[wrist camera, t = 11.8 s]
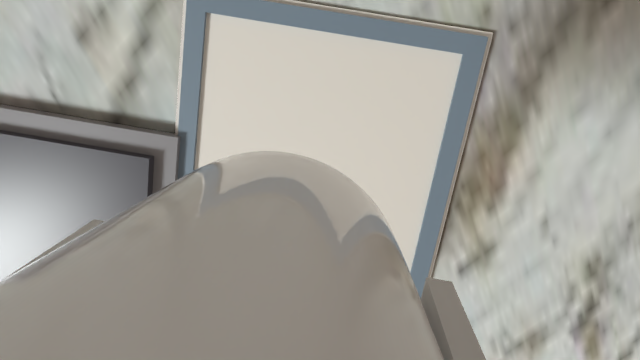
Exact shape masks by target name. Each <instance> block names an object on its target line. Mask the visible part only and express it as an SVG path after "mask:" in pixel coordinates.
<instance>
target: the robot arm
mask: <svg viewBox="0 0 640 360" xmlns="http://www.w3.org/2000/svg"><path fill="white" fill-rule="evenodd" d="M102 222H104V221H101V220H96V219H94V220H92V221H91V222H89V223H88V224H86V225H85V226H83V227H82V228H80V229H79V230H77V231H76V232H74V233H73V234H71V235H70V236H68V237H67V238H65V239H64V240H62V241H61V242H59V243H57V244H56V245H54V246H53V247H51V248H50V249H48V250H47V251H45V252H44V253H42V254H41V255H39V256H38V257H36V258H35V259H33V260H32V261H30V262H29V263H27V264H26V265H24V266H23V267H21V268H20V269H22V268H24V267H26V266H27V265H29V264H31V263H33V262H34V261H36V260H38V259H40V258H41V257H43V256H45V255H47V254H48V253H50V252H52V251H54V250H55V249H57V248H59V247H60V246H62V245H64V244H66V243H67V242H69V241H71V240H73V239H74V238H76V237H78V236H80V235H81V234H83V233H85V232H87V231H88V230H90V229H92V228H94V227H95V226H97V225H99V224H101V223H102ZM20 269H18V270H17V271H19V270H20ZM17 271H15V272H17ZM15 272H13V273H15ZM13 273H12V274H13ZM12 274H10V275H12ZM10 275H9V276H10ZM7 277H8V276H7ZM4 279H5V278H4ZM421 301H422V304H423V306H424V309H425V311H426V314H427V316H428V319H429V321H430V324H431V327H432V329H433V332H434V334H435V337H436V339H437V342H438V344H439V347H440V349H441V352H442V354H443V357H444V360H486V359H485V356H484V354H483V352H482V350H481V347H480V345H479V343H478V340H477V338H476V336H475V334H474V331H473V329H472V327H471V324H470V322H469V320H468V318H467V315H466V313H465V311H464V308H463V306H462V304H461V302H460V299H459V297H458V295H457V292H456V290H455V288H454V286H453V283H452V282H450V281H444V280H439V279H433V278H427V277H426V280H425V284H424V288H423V292H422V296H421Z"/></svg>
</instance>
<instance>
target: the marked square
mask: <svg viewBox="0 0 640 360" xmlns="http://www.w3.org/2000/svg"><path fill="white" fill-rule="evenodd" d="M492 36H493V33H492V32H485V31H479V30H473V29H467V28H461V27H455V26H448V25H442V24H436V23H430V22H424V21H418V20H411V19H405V18H399V17H393V16H387V15H380V14H374V13H368V12H362V11H356V10H350V9H343V8H337V7H331V6H325V5H319V4H312V3H306V2H300V1H294V0H184V1H183V17H182V33H181V48H180V64H179V79H178V95H177V111H176V126H175V134H176V135H178V136H181V139H180V153H179V168H178V179H180V178H181V177H183V176H185V175H187V174H189V173H191V172H192V171H194V170H196V169H198V168H200V167H202V166H204V165H206V164H209V163H211V162H213V161H216V160H219V159H221V158H224V157H228V156H231V155H235V154H240V153H245V152H253V151H280V152H288V153H294V154H298V155H302V156H306V157H309V158H312V159H315V160H318V161H320V162H322V163H325V164H327V165H329V166H331V167H333V168H335V169H336V170H338V171H340V172H341V173H343V174H344V175H346V176H347V177H349V178H350V179H351V180H353V181H354V182H355V183H356V184H357V185H359V186H360V187H361V188H362V189H363V190H364V191H365V192H366V193H367V194H368V195H369V196H370V197H371V199H372V200H373V201H374V202H375V203H376V205H377V206H378V207H379V209H380V210H381V212H382V213H383V215H384V216H385V218H386V220H387V221H388V223H389V225H390V227H391V229H392V231H393V233H394V235H395V237H396V240H397V242H398V244H399V247H400V249H401V251H402V254H403V256H404V259H405V261H406V264H407V266H408V269H409V271H410V274H411V276H412V279H413V281H414V284H415V286H416V289H417V291H418V294H419V296H420V299H421V296H422V292H423V288H424V284H425V280H426V277H427V278H431V275H432V271H433V267H434V263H435V259H436V255H437V251H438V247H439V244H440V240H441V236H442V232H443V228H444V224H445V220H446V216H447V212H448V208H449V204H450V200H451V197H452V193H453V189H454V185H455V181H456V177H457V173H458V169H459V165H460V161H461V157H462V153H463V149H464V146H465V142H466V138H467V134H468V130H469V126H470V122H471V118H472V114H473V110H474V106H475V102H476V98H477V95H478V91H479V87H480V83H481V79H482V75H483V71H484V67H485V63H486V59H487V55H488V51H489V47H490V44H491V40H492Z"/></svg>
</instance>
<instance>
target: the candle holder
mask: <svg viewBox="0 0 640 360" xmlns="http://www.w3.org/2000/svg"><path fill="white" fill-rule="evenodd" d="M0 360H444V357H443V354H442V352H441V349H440V347H439V344H438V342H437V339H436V337H435V334H434V332H433V329H432V327H431V324H430V321H429V319H428V316H427V314H426V311H425V309H424V306H423V304H422V301H421V299H420V296H419V294H418V291H417V289H416V286H415V284H414V281H413V279H412V276H411V274H410V271H409V269H408V266H407V264H406V261H405V259H404V256H403V254H402V251H401V249H400V247H399V244H398V242H397V240H396V237H395V235H394V233H393V231H392V229H391V227H390V225H389V223H388V221H387V220H386V218H385V216H384V215H383V213H382V212H381V210H380V209H379V207H378V206H377V205H376V203H375V202H374V201H373V200H372V199H371V197H370V196H369V195H368V194H367V193H366V192H365V191H364V190H363V189H362V188H361V187H360V186H359V185H357V184H356V183H355V182H354V181H353V180H351V179H350V178H349V177H347V176H346V175H344V174H343V173H341V172H340V171H338V170H336V169H335V168H333V167H331V166H329V165H327V164H325V163H322V162H320V161H318V160H315V159H312V158H309V157H306V156H302V155H298V154H294V153H288V152H280V151H253V152H245V153H240V154H235V155H231V156H228V157H224V158H221V159H219V160H216V161H213V162H211V163H209V164H206V165H204V166H202V167H200V168H198V169H196V170H194V171H192V172H191V173H189V174H187V175H185V176H183V177H181V178H180V179H178V180H176V181H174V182H172V183H171V184H169V185H167V186H165V187H163V188H162V189H160V190H158V191H156V192H155V193H153V194H151V195H149V196H148V197H146V198H144V199H142V200H141V201H139V202H137V203H135V204H134V205H132V206H130V207H128V208H127V209H125V210H123V211H121V212H120V213H118V214H116V215H114V216H113V217H111V218H109V219H108V220H106V221H104V222H102V223H101V224H99V225H97V226H95V227H94V228H92V229H90V230H88V231H87V232H85V233H83V234H81V235H80V236H78V237H76V238H74V239H73V240H71V241H69V242H67V243H66V244H64V245H62V246H60V247H59V248H57V249H55V250H54V251H52V252H50V253H48V254H47V255H45V256H43V257H41V258H40V259H38V260H36V261H34V262H33V263H31V264H29V265H27V266H26V267H24V268H22V269H20V270H19V271H17V272H15V273H13V274H12V275H10V276H8V277H6V278H5V279H3V280H1V281H0Z"/></svg>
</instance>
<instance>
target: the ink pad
mask: <svg viewBox="0 0 640 360" xmlns="http://www.w3.org/2000/svg"><path fill="white" fill-rule="evenodd" d="M180 139H181V136H178V135H176V134H174V133H169V132H163V131H157V130H151V129H145V128H139V127H133V126H127V125H121V124H115V123H109V122H103V121H97V120H91V119H85V118H80V117H74V116H68V115H62V114H56V113H50V112H44V111H38V110H32V109H26V108H20V107H14V106H8V105H2V104H0V281H1V280H3V279H4V278H6V277H7V276H9V275H10V274H12V273H13V272H15V271H17V270H18V269H20V268H21V267H23V266H24V265H26V264H27V263H29V262H30V261H32V260H33V259H35V258H36V257H38V256H39V255H41V254H42V253H44V252H45V251H47V250H48V249H50V248H51V247H53V246H54V245H56V244H57V243H59V242H61V241H62V240H64V239H65V238H67V237H68V236H70V235H71V234H73V233H74V232H76V231H77V230H79V229H80V228H82V227H83V226H85V225H86V224H88V223H89V222H91V221H92V220H94V219H96V220H101V221H106V220H108V219H109V218H111V217H113V216H114V215H116V214H118V213H120V212H121V211H123V210H125V209H127V208H128V207H130V206H132V205H134V204H135V203H137V202H139V201H141V200H142V199H144V198H146V197H148V196H149V195H151V194H153V193H155V192H156V191H158V190H160V189H162V188H163V187H165V186H167V185H169V184H171V183H172V182H174V181H176V180H178V168H179V153H180Z"/></svg>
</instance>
